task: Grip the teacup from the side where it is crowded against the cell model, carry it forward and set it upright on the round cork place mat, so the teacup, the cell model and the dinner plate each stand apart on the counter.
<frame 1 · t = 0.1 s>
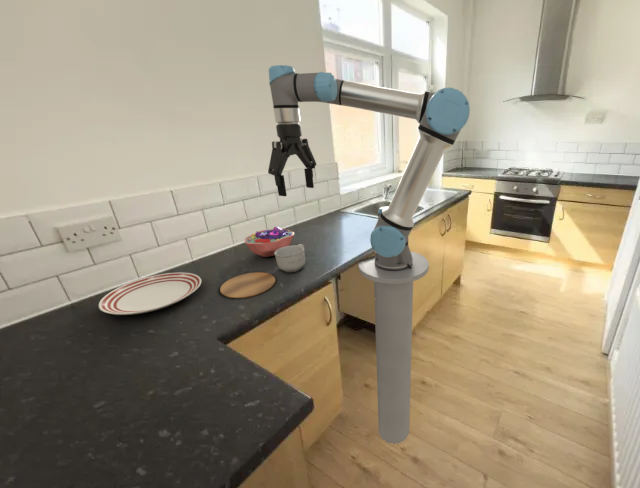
hand: (297, 191, 107), 30 cm above the countertop, tool pointing down, fingers open, 13 cm apart
cork mat: (248, 284, 111), on the countertop
cell model: (272, 254, 136), on the countertop
dinner plate: (156, 298, 104), on the countertop
teacup: (295, 267, 124), on the countertop
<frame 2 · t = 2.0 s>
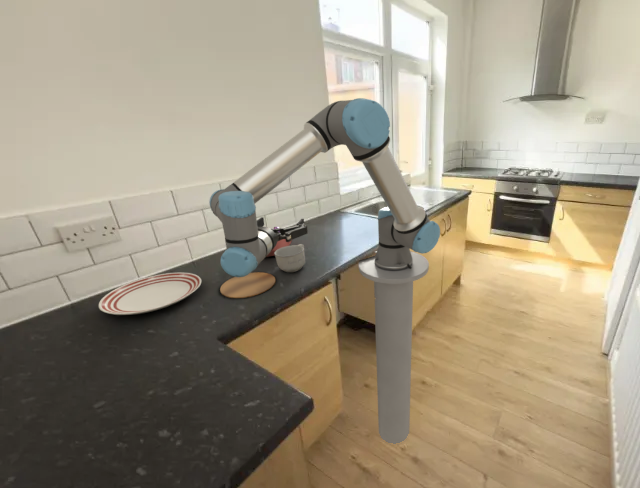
hand: (282, 221, 107), 21 cm above the countertop, tool horizontal, fingers open, 13 cm apart
nothing on the countertop moved.
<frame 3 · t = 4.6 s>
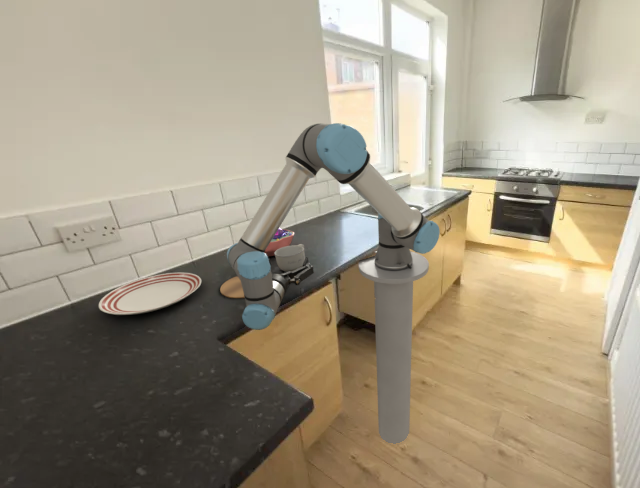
hand: (288, 261, 115), 6 cm above the countertop, tool horizontal, fingers open, 13 cm apart
nothing on the countertop moved.
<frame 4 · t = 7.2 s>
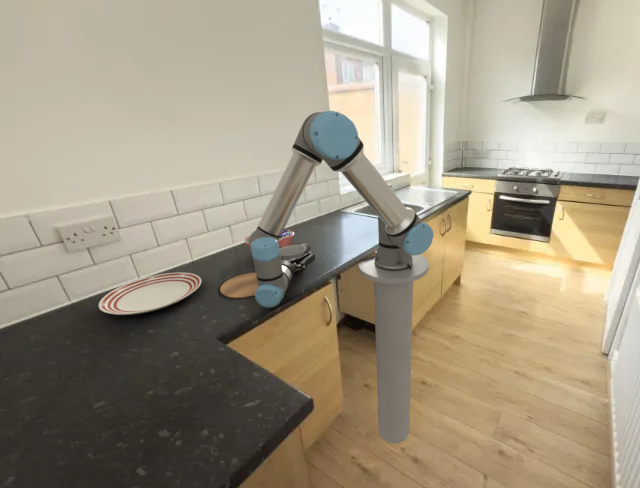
hand: (294, 249, 125), 6 cm above the countertop, tool horizontal, fingers closed on teacup, 11 cm apart
teacup: (297, 267, 124), on the countertop, touching gripper
everything else where it was.
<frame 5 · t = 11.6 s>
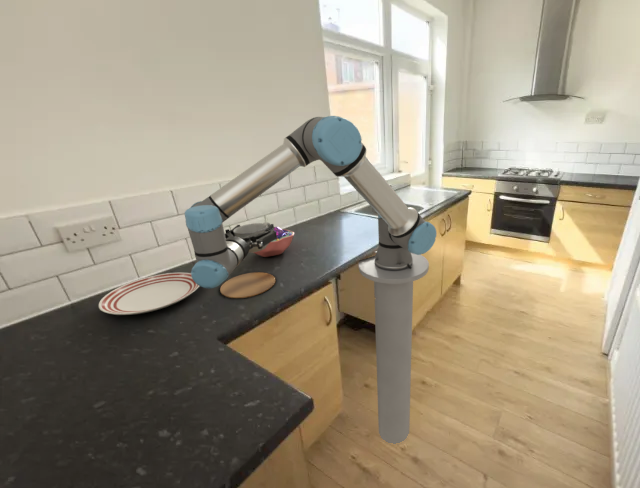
hand: (256, 228, 111), 18 cm above the countertop, tool horizontal, fingers closed on teacup, 11 cm apart
teacup: (258, 248, 110), point 12 cm above the countertop, touching gripper
everything else where it was.
when the fingers open (6 cm above the countertop, at t = 16.0 s): teacup stays where it is, resting on cork mat.
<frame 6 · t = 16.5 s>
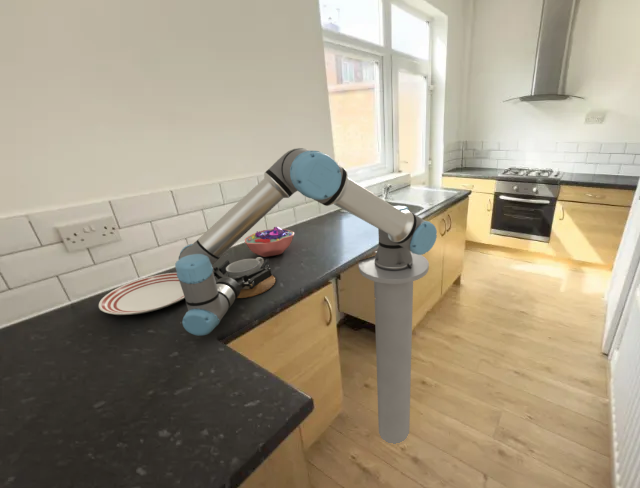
hand: (248, 263, 111), 7 cm above the countertop, tool horizontal, fingers open, 13 cm apart
teacup: (251, 283, 111), resting on cork mat
everything else where it was.
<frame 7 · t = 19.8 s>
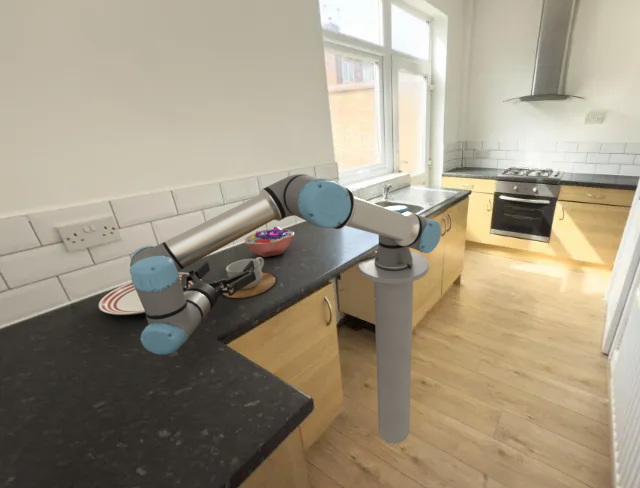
hand: (230, 265, 97), 12 cm above the countertop, tool horizontal, fingers open, 13 cm apart
nothing on the countertop moved.
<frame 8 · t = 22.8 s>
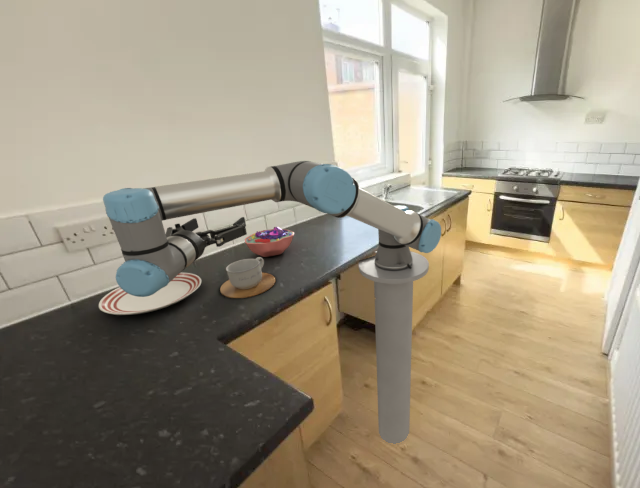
hand: (220, 222, 92), 26 cm above the countertop, tool horizontal, fingers open, 13 cm apart
nothing on the countertop moved.
at the end: teacup inside the target area on the cork mat (1.0 cm from its centre), point 0.2 cm above the cork mat's base; teacup tilted 0°; cell model moved 0.2 cm from its start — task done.
